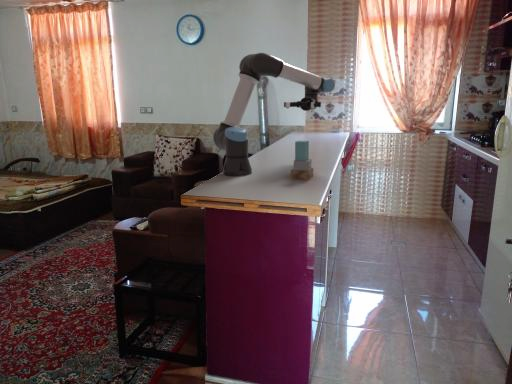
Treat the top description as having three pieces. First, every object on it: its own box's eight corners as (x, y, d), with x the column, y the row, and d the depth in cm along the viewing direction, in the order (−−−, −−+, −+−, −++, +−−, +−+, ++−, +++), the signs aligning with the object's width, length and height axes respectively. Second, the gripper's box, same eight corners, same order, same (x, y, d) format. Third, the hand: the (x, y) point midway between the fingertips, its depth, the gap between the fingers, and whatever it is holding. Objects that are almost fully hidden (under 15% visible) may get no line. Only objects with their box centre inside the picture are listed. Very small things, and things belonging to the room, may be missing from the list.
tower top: (293, 170, 192) (293, 161, 191) (296, 167, 199) (296, 158, 198) (309, 170, 190) (309, 161, 189) (311, 168, 197) (311, 158, 196)
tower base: (290, 179, 193) (290, 170, 192) (295, 175, 201) (295, 166, 200) (308, 180, 190) (309, 171, 189) (313, 176, 198) (313, 167, 197)
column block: (295, 160, 193) (295, 141, 191) (298, 158, 197) (299, 140, 195) (304, 160, 190) (305, 142, 188) (308, 159, 195) (308, 140, 193)
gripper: (329, 110, 225) (322, 112, 206) (286, 110, 233) (275, 112, 214) (329, 96, 223) (322, 97, 204) (286, 97, 231) (275, 98, 212)
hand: (298, 105), depth 209 cm, fingers open, 13 cm apart
